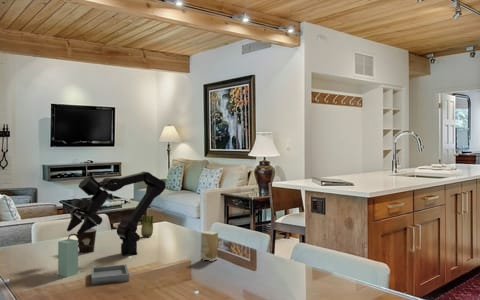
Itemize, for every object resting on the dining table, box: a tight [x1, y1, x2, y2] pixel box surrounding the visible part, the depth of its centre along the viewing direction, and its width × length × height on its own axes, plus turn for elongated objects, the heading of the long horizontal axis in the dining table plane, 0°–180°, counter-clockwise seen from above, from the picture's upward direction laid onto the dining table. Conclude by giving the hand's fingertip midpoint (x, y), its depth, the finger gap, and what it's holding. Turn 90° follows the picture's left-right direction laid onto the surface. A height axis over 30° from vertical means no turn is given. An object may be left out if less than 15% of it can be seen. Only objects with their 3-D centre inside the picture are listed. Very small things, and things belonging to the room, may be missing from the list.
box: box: [91, 263, 130, 286], centre depth 152 cm, size 13×13×2 cm
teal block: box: [57, 238, 79, 278], centre depth 155 cm, size 5×5×13 cm
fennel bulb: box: [140, 214, 154, 238], centre depth 220 cm, size 6×5×12 cm
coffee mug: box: [67, 227, 97, 254], centre depth 189 cm, size 12×9×10 cm
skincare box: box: [200, 230, 219, 261], centre depth 176 cm, size 6×4×12 cm
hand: (72, 232), depth 166 cm, fingers open, 9 cm apart
